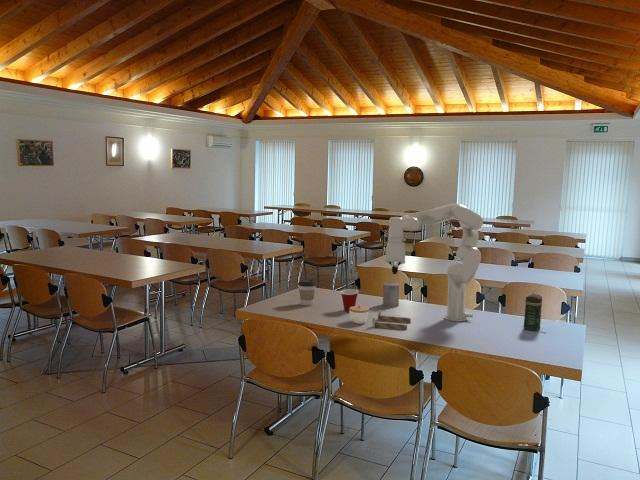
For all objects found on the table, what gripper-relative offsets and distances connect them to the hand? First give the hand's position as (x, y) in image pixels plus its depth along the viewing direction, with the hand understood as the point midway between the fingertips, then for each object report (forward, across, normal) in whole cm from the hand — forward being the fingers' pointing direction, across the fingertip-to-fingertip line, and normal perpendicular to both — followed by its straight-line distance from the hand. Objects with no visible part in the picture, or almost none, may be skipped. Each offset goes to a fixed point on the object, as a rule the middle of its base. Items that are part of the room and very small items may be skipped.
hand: (394, 273), depth 300 cm
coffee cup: (+27, +57, -23) cm, 67 cm away
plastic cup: (+27, +29, -17) cm, 43 cm away
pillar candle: (+27, +8, -39) cm, 48 cm away
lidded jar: (+27, +18, +5) cm, 33 cm away
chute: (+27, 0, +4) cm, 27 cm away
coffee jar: (+27, -72, -13) cm, 78 cm away
